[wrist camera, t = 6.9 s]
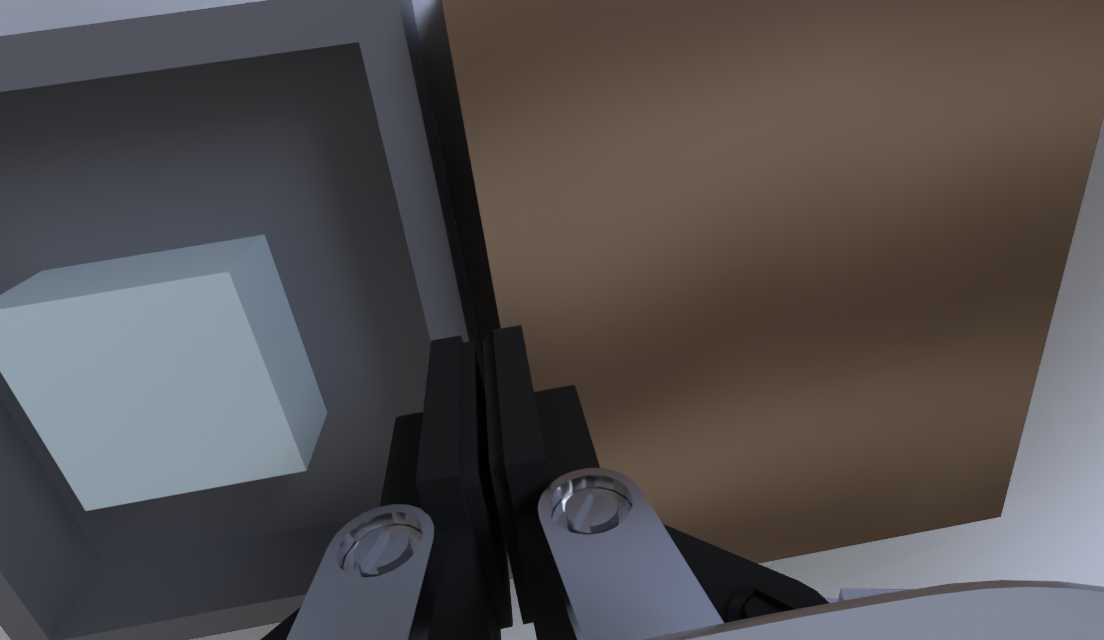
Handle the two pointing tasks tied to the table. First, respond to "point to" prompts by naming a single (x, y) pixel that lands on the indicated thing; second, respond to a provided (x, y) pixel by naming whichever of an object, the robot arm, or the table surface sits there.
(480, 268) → the table surface
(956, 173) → the board
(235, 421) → the tile
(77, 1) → the table surface
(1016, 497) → the table surface
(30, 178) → the tray
